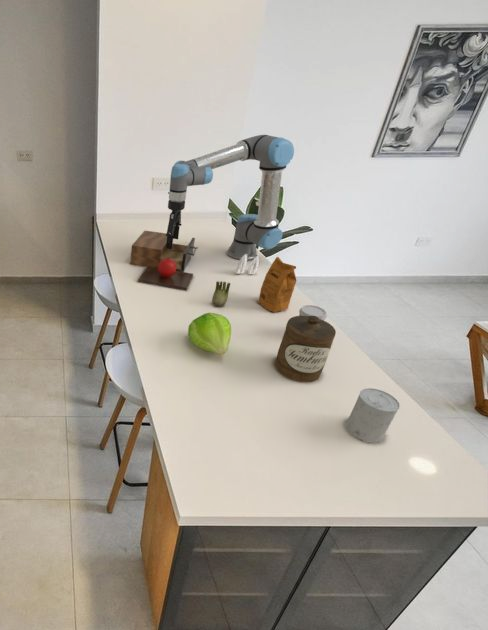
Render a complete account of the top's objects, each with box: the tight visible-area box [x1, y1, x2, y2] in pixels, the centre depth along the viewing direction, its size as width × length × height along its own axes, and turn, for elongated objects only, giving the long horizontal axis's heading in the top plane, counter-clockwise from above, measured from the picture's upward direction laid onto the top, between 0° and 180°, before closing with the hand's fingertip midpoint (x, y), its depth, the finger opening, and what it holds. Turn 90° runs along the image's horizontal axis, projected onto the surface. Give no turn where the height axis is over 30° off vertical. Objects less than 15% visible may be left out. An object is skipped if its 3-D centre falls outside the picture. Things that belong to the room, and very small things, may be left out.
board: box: [137, 266, 194, 292], centre depth 213 cm, size 24×17×2 cm
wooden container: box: [274, 315, 336, 383], centre depth 145 cm, size 15×15×22 cm
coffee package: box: [257, 256, 297, 313], centre depth 183 cm, size 10×12×22 cm
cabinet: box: [130, 230, 167, 268], centre depth 233 cm, size 16×25×11 cm, turn 155°
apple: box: [158, 257, 177, 278], centre depth 210 cm, size 9×9×10 cm
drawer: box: [161, 237, 199, 272], centre depth 228 cm, size 20×25×10 cm
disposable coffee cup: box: [298, 304, 328, 321], centre depth 165 cm, size 10×10×12 cm
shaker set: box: [235, 254, 260, 276], centre depth 214 cm, size 12×4×11 cm, turn 97°
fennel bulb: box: [211, 280, 231, 308], centre depth 187 cm, size 6×5×12 cm
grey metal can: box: [345, 387, 401, 444], centre depth 122 cm, size 10×10×12 cm
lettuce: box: [187, 312, 232, 356], centre depth 159 cm, size 15×20×14 cm
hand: (172, 243), depth 204 cm, fingers open, 13 cm apart
